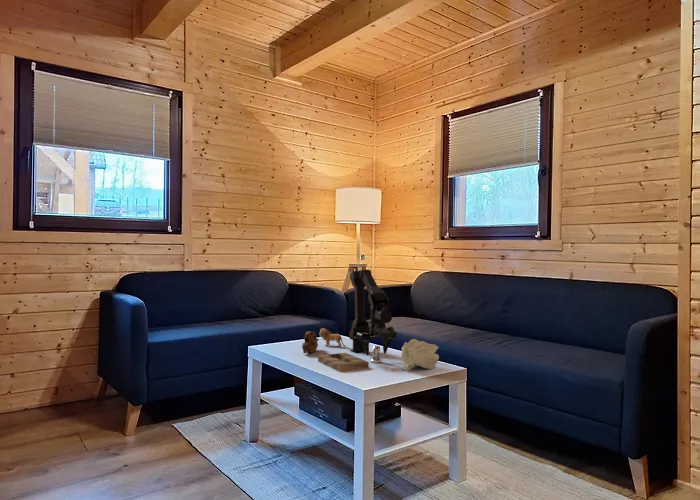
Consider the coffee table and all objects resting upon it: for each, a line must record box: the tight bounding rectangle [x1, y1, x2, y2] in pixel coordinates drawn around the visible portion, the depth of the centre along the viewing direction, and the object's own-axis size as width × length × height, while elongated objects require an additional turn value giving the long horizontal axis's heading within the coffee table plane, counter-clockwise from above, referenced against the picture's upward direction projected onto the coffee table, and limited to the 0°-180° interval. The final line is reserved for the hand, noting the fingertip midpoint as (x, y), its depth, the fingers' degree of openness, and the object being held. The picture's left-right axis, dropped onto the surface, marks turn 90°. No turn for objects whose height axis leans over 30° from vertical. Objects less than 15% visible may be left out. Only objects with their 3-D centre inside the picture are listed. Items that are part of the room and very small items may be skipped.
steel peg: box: [370, 345, 383, 364], centre depth 216 cm, size 5×5×7 cm
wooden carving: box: [301, 330, 319, 354], centre depth 233 cm, size 16×5×10 cm, turn 168°
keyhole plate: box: [317, 352, 370, 373], centre depth 210 cm, size 20×14×3 cm
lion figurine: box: [318, 327, 347, 349], centre depth 248 cm, size 15×5×9 cm, turn 71°
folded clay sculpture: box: [400, 338, 440, 372], centre depth 206 cm, size 18×13×16 cm
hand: (376, 354), depth 216 cm, fingers open, 9 cm apart
